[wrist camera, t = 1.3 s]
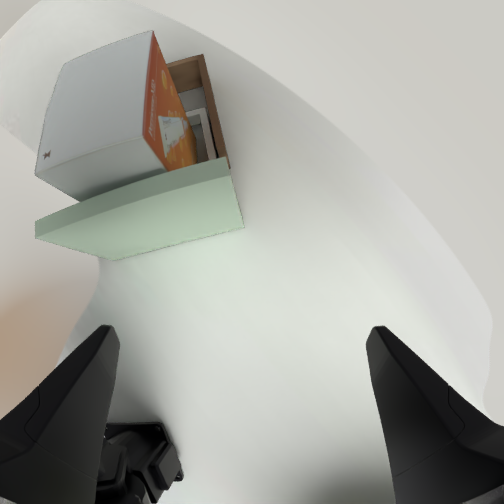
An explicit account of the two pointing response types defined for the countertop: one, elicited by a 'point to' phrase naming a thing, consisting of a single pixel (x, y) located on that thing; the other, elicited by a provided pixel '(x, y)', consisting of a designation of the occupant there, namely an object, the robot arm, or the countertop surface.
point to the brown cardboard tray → (193, 76)
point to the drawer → (151, 209)
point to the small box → (114, 121)
